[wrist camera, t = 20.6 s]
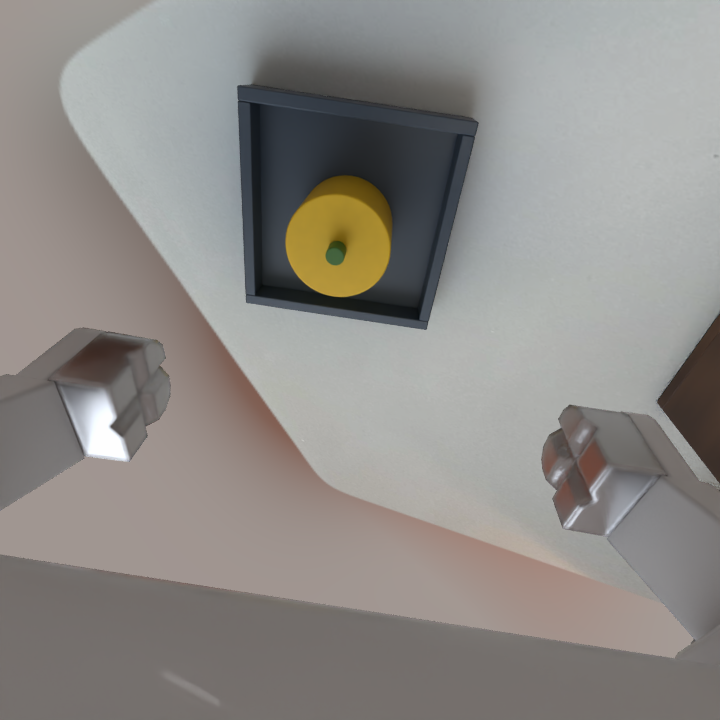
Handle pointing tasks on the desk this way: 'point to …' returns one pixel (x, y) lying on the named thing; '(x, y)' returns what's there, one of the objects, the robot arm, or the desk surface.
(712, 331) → the cabinet
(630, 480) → the robot arm
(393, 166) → the tray
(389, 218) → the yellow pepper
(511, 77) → the desk surface
